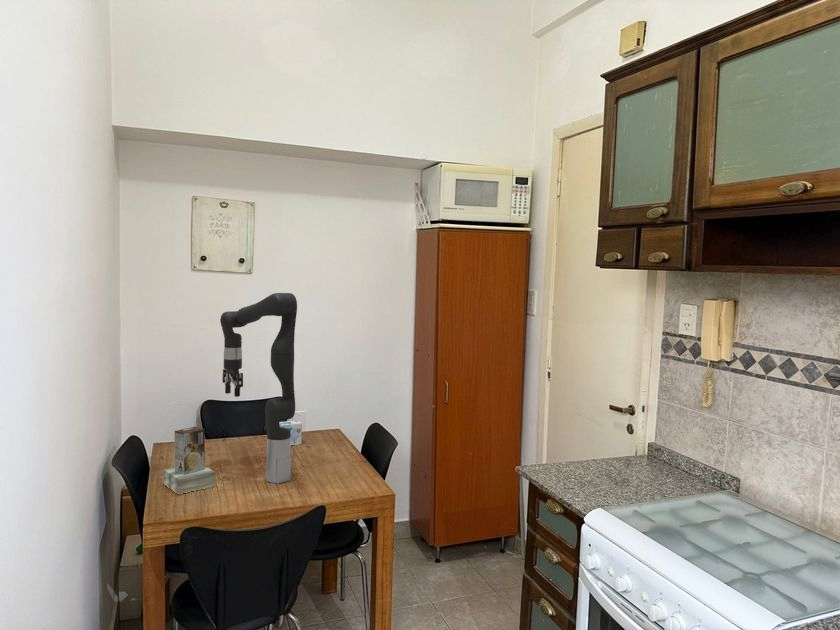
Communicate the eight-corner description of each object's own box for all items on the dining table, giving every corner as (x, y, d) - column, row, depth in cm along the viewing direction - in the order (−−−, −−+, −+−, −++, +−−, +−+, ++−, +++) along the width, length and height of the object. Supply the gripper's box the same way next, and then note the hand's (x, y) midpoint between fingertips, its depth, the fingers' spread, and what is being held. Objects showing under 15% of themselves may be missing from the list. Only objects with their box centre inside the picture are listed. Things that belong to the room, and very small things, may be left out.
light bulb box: (280, 447, 281) (280, 425, 280) (276, 443, 286) (277, 421, 286) (302, 445, 286) (302, 423, 285) (298, 441, 291) (298, 420, 291)
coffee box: (195, 465, 232) (195, 425, 231) (205, 469, 228) (205, 428, 227) (174, 471, 224) (174, 430, 223) (183, 475, 220) (184, 433, 219)
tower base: (214, 486, 226) (214, 471, 226) (178, 495, 216) (178, 479, 216) (199, 477, 236) (199, 462, 236) (163, 484, 226) (163, 469, 226)
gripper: (249, 359, 249) (248, 396, 250) (233, 355, 259) (232, 391, 260) (232, 360, 244) (232, 398, 245) (217, 356, 254) (216, 393, 255)
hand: (232, 394), depth 253 cm, fingers open, 8 cm apart
